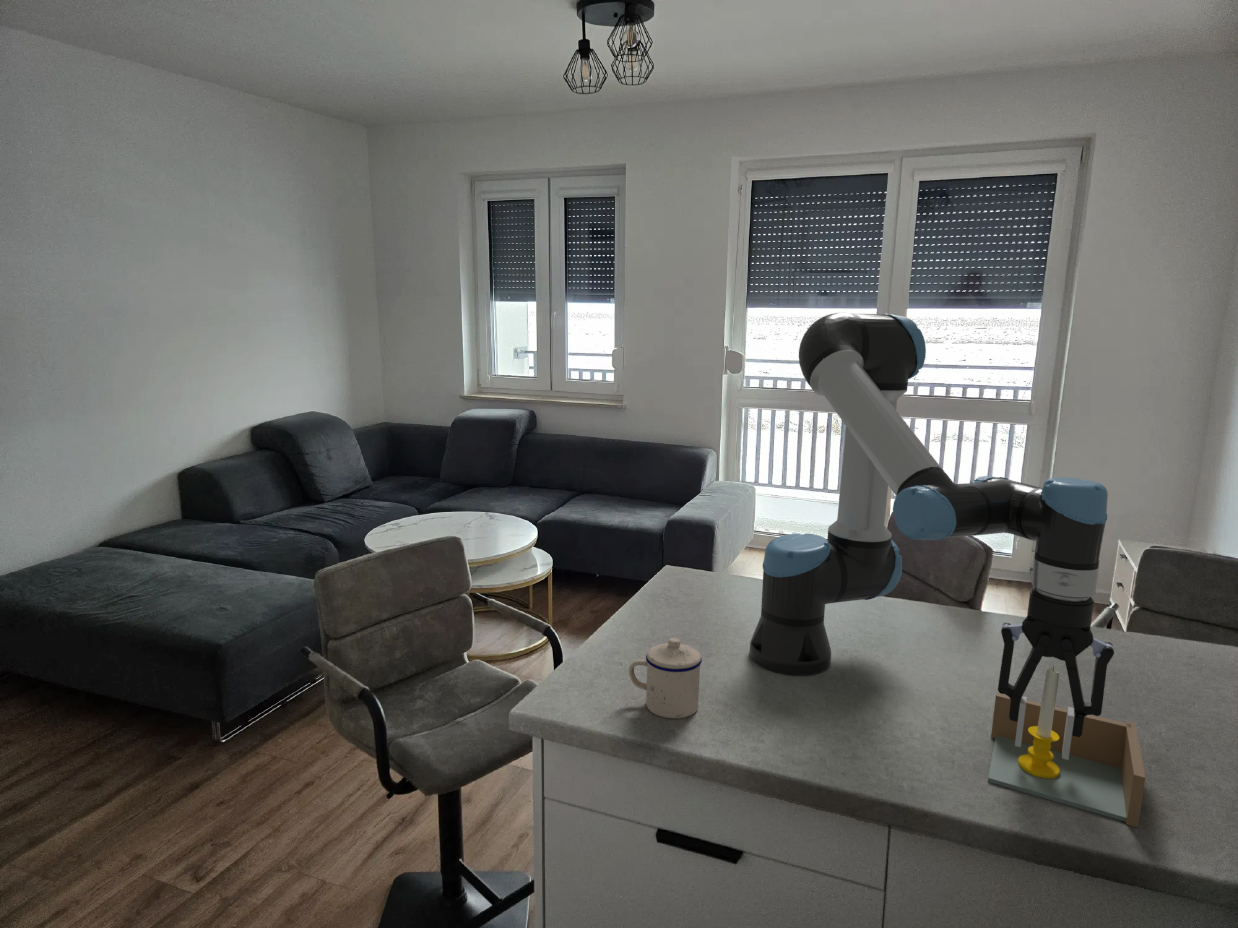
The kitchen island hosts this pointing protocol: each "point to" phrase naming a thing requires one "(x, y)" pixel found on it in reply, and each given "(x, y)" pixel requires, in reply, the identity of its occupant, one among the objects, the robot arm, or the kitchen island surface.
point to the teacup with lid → (670, 679)
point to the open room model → (1074, 762)
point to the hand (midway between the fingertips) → (1041, 747)
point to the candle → (1043, 734)
